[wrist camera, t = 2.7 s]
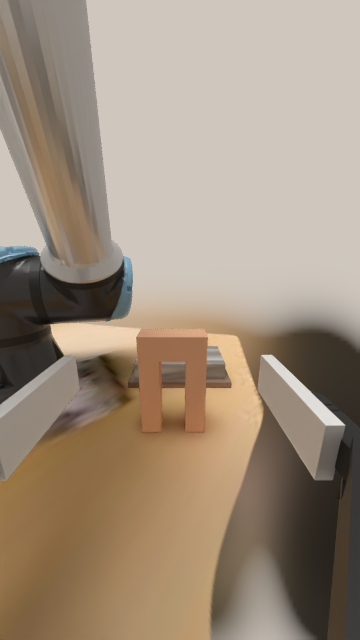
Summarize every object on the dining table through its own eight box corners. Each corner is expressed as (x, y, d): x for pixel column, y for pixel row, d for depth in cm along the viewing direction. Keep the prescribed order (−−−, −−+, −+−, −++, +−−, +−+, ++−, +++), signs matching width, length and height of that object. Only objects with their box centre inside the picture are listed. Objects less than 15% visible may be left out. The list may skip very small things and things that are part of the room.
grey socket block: (230, 387, 36) (232, 367, 35) (128, 387, 36) (126, 366, 35) (220, 361, 46) (221, 344, 45) (139, 361, 46) (138, 344, 45)
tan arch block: (204, 432, 26) (207, 337, 23) (142, 432, 26) (136, 337, 23) (201, 415, 29) (204, 329, 26) (145, 415, 29) (141, 329, 26)
